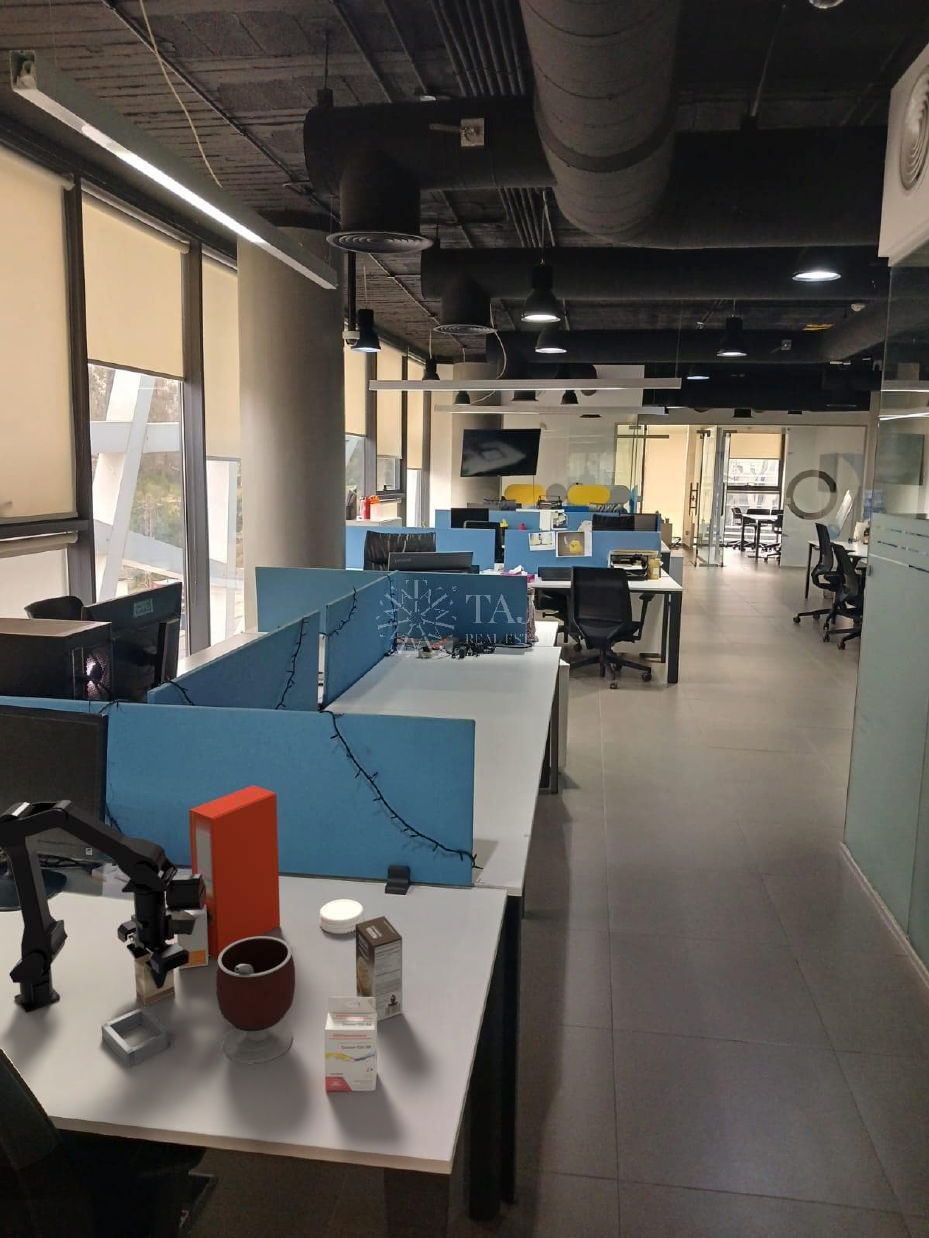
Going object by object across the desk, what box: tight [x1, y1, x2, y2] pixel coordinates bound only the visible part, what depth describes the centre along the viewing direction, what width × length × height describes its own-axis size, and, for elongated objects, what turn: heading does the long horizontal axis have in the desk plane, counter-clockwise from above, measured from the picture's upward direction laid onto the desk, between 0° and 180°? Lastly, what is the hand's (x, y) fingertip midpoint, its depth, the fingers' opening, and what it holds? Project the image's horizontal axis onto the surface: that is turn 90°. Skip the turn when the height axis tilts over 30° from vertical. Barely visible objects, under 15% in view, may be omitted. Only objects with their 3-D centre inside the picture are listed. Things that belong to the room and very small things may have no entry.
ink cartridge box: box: [324, 996, 378, 1092], centre depth 148 cm, size 9×5×15 cm, turn 92°
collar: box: [101, 1005, 173, 1067], centre depth 159 cm, size 11×8×2 cm
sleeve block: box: [133, 953, 176, 1006], centre depth 172 cm, size 4×6×8 cm, turn 136°
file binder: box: [188, 785, 281, 961], centre depth 191 cm, size 8×17×32 cm, turn 145°
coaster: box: [319, 899, 365, 935], centre depth 200 cm, size 10×10×4 cm
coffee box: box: [355, 915, 403, 1022], centre depth 168 cm, size 9×6×16 cm
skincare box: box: [176, 904, 209, 970], centre depth 183 cm, size 6×4×12 cm
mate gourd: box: [215, 935, 296, 1065], centre depth 157 cm, size 16×14×20 cm
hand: (155, 982), depth 172 cm, fingers closed on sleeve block, 4 cm apart
